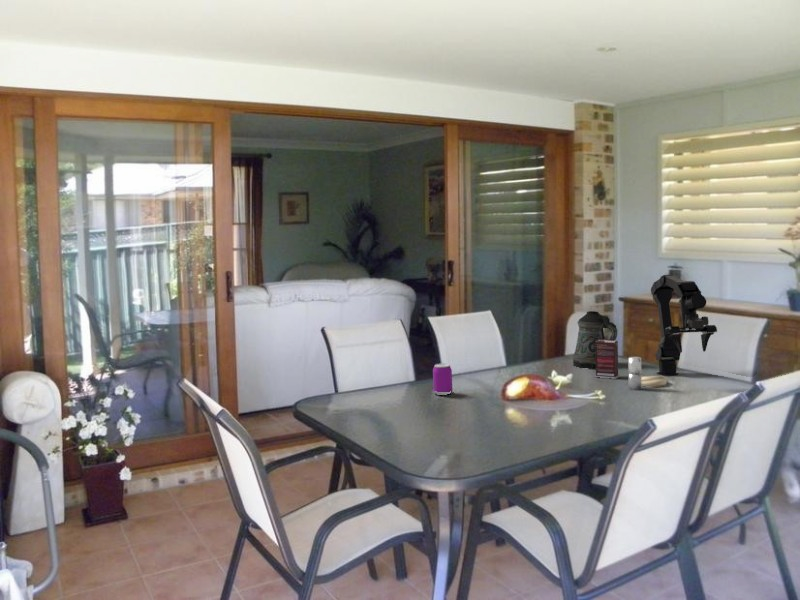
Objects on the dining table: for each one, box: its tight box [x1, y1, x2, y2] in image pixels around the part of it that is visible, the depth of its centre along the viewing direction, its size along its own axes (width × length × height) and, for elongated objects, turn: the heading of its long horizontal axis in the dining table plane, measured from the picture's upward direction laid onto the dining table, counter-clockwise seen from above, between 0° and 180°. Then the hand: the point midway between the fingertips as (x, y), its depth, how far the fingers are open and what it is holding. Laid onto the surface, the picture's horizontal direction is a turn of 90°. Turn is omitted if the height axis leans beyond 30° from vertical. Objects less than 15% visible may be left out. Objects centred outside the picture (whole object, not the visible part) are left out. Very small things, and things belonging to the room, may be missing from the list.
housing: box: [627, 356, 642, 391], centre depth 291 cm, size 5×5×12 cm
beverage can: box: [432, 363, 453, 392], centre depth 296 cm, size 8×8×12 cm
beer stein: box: [572, 310, 618, 370], centre depth 335 cm, size 16×19×25 cm
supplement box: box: [595, 339, 619, 380], centre depth 312 cm, size 9×5×16 cm, turn 58°
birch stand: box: [641, 375, 668, 388], centre depth 299 cm, size 12×12×2 cm
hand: (692, 351), depth 287 cm, fingers open, 9 cm apart
